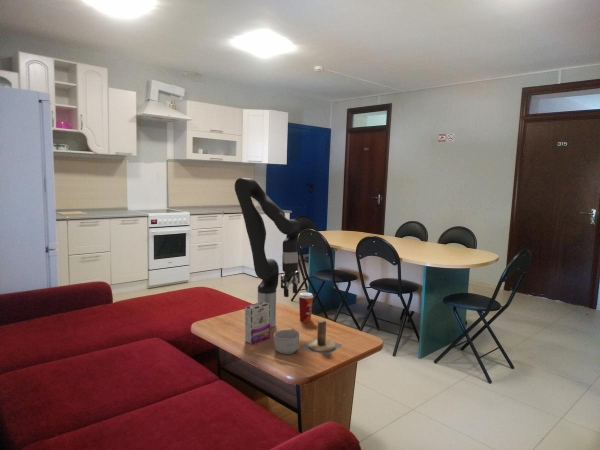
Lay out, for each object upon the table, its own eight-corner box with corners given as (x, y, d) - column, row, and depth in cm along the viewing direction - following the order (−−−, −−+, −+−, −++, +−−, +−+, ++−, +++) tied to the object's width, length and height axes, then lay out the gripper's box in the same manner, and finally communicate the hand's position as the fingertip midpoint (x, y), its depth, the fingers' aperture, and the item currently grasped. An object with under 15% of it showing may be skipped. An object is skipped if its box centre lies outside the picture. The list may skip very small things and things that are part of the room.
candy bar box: (262, 335, 187) (263, 300, 185) (270, 338, 184) (270, 303, 182) (244, 341, 179) (244, 305, 177) (251, 344, 175) (251, 308, 174)
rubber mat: (299, 348, 172) (299, 347, 172) (315, 338, 184) (315, 337, 184) (328, 356, 165) (328, 355, 165) (342, 345, 177) (342, 344, 177)
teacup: (289, 359, 161) (290, 340, 161) (268, 353, 167) (268, 334, 166) (307, 348, 173) (308, 330, 172) (286, 342, 179) (287, 325, 178)
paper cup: (311, 323, 205) (311, 296, 204) (296, 321, 207) (297, 295, 205) (313, 318, 213) (314, 292, 212) (299, 317, 214) (300, 291, 213)
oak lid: (302, 347, 172) (303, 322, 171) (315, 339, 182) (316, 315, 181) (327, 354, 166) (327, 328, 165) (339, 344, 176) (340, 320, 175)
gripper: (290, 259, 199) (291, 291, 199) (275, 262, 186) (276, 297, 187) (304, 259, 195) (304, 292, 196) (289, 263, 183) (290, 298, 183)
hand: (290, 295), depth 191 cm, fingers open, 8 cm apart
